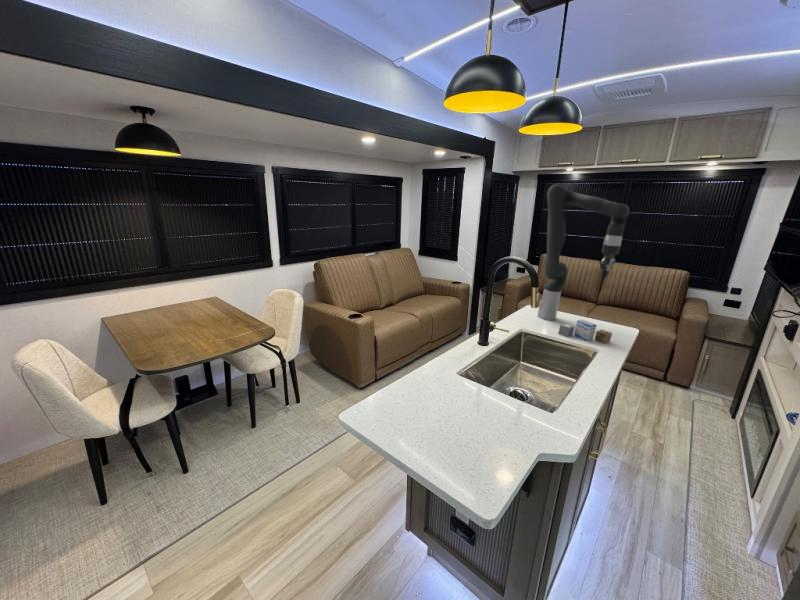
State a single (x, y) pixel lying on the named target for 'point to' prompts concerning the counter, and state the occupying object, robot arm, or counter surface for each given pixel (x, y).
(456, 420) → the counter surface
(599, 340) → the walnut block
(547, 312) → the robot arm
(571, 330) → the slate block
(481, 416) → the counter surface
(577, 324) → the medicine box
